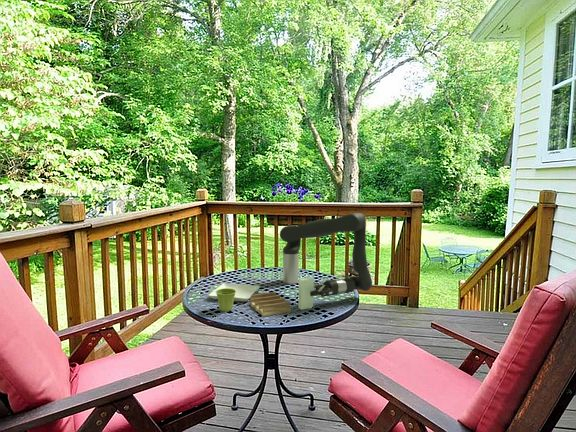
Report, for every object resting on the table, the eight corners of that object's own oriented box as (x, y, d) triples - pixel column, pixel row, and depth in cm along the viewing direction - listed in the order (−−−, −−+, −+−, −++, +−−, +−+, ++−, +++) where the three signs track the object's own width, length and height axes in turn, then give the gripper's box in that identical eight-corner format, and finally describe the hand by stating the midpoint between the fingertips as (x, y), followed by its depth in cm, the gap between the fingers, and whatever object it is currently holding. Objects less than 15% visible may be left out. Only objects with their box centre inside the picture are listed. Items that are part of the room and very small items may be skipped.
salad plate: (248, 304, 184) (248, 297, 184) (207, 301, 188) (207, 294, 188) (260, 291, 205) (260, 285, 204) (223, 288, 209) (223, 282, 208)
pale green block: (298, 307, 180) (298, 278, 178) (310, 305, 183) (310, 277, 181) (301, 309, 177) (301, 280, 176) (313, 307, 180) (313, 278, 179)
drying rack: (249, 304, 184) (249, 295, 183) (275, 300, 190) (276, 291, 189) (262, 316, 169) (262, 306, 168) (291, 311, 175) (291, 302, 174)
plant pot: (237, 305, 181) (237, 288, 180) (235, 313, 172) (235, 294, 171) (217, 305, 181) (217, 288, 180) (214, 313, 172) (214, 294, 171)
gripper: (327, 276, 192) (299, 279, 185) (343, 283, 179) (313, 287, 172) (327, 290, 193) (298, 294, 186) (343, 298, 180) (313, 303, 173)
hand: (306, 291), depth 179 cm, fingers open, 8 cm apart
